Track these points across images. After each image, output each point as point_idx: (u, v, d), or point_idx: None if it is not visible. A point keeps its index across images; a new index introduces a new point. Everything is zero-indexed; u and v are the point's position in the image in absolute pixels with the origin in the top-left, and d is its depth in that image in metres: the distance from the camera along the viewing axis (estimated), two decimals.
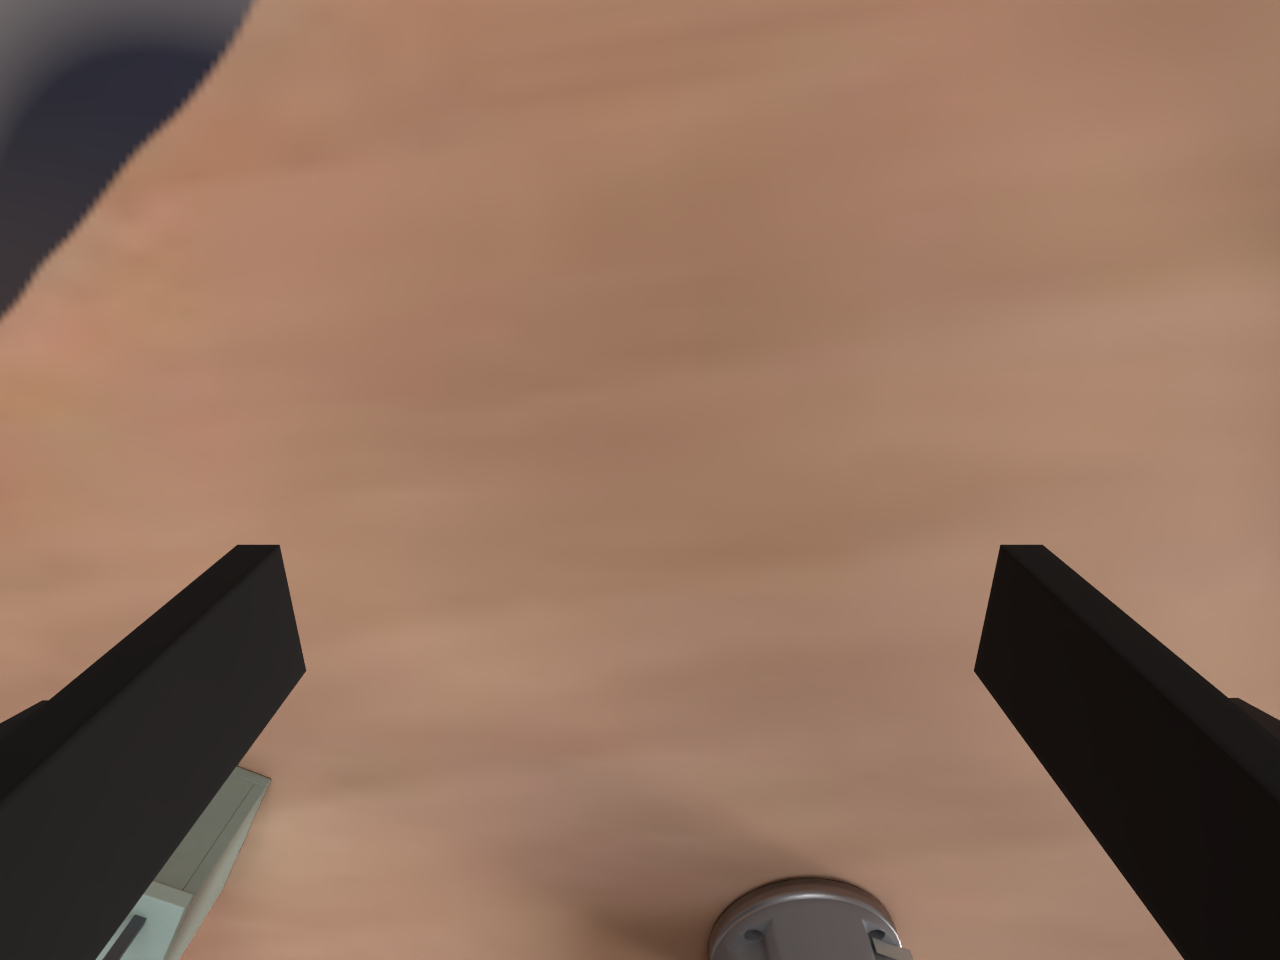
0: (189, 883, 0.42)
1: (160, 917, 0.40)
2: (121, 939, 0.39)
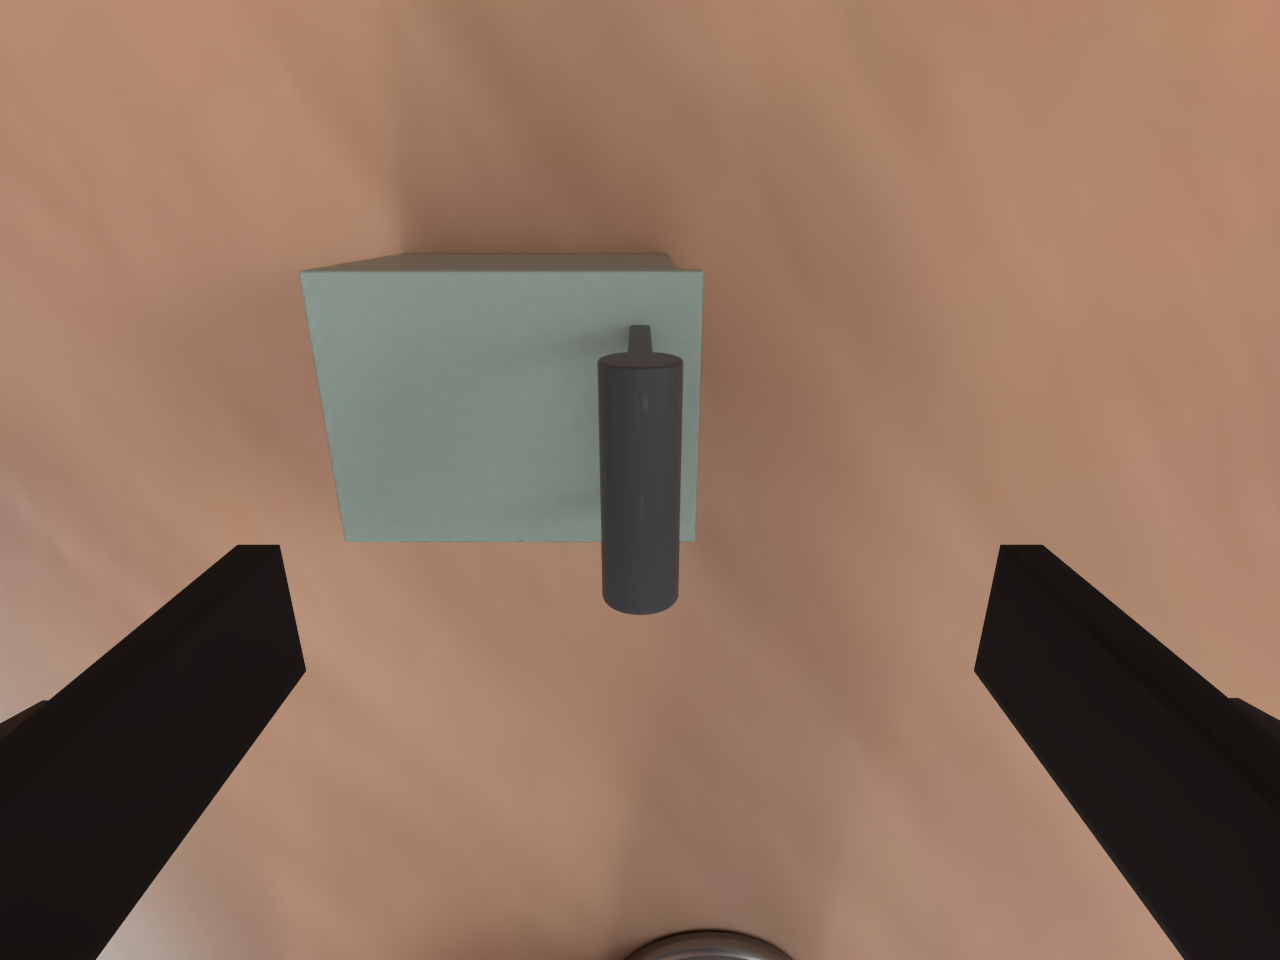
0: None
1: None
2: None
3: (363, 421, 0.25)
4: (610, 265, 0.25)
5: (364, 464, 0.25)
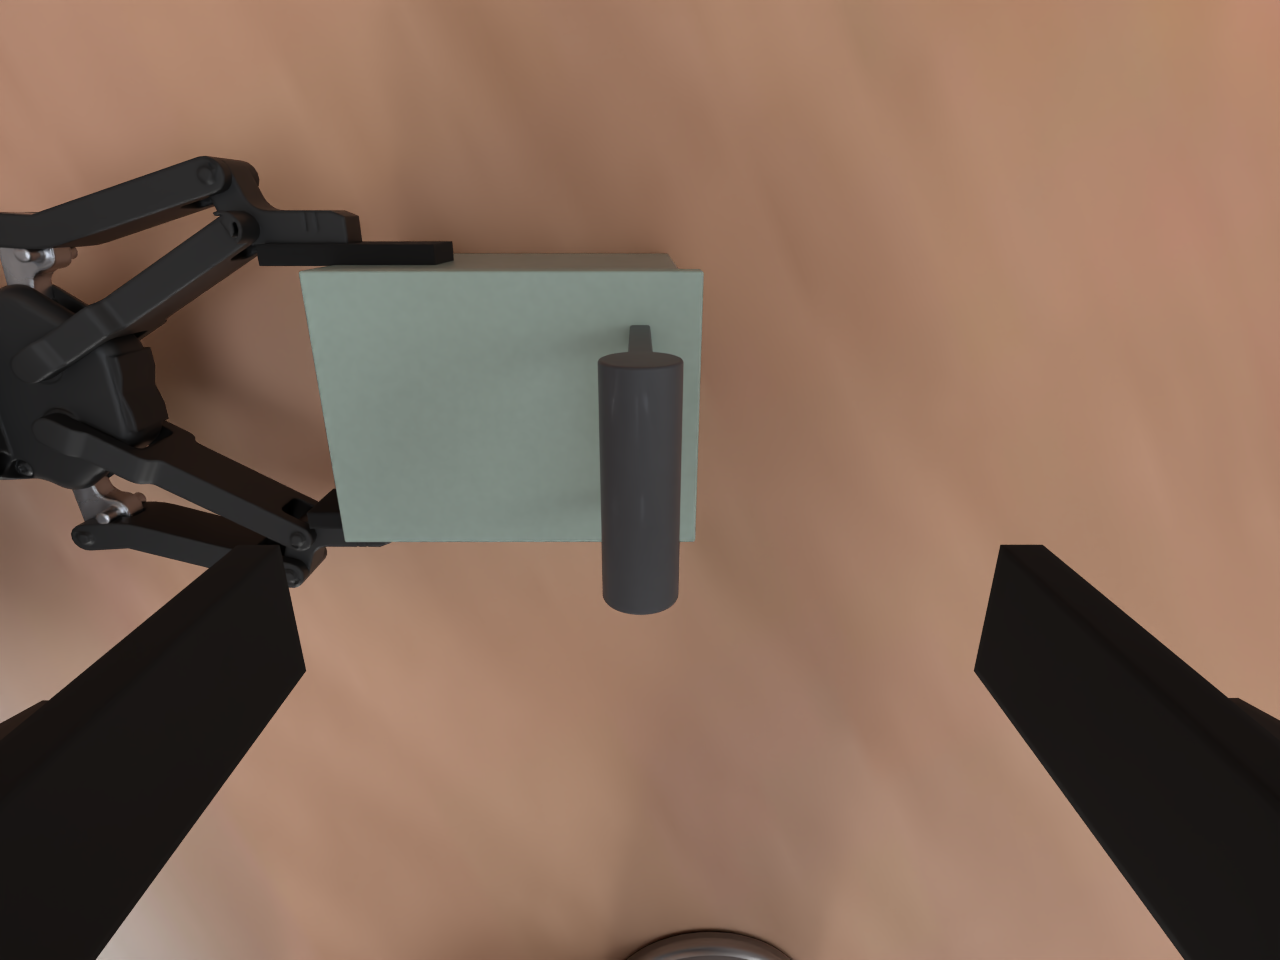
0: None
1: None
2: None
3: (363, 421, 0.25)
4: (610, 265, 0.25)
5: (364, 464, 0.25)
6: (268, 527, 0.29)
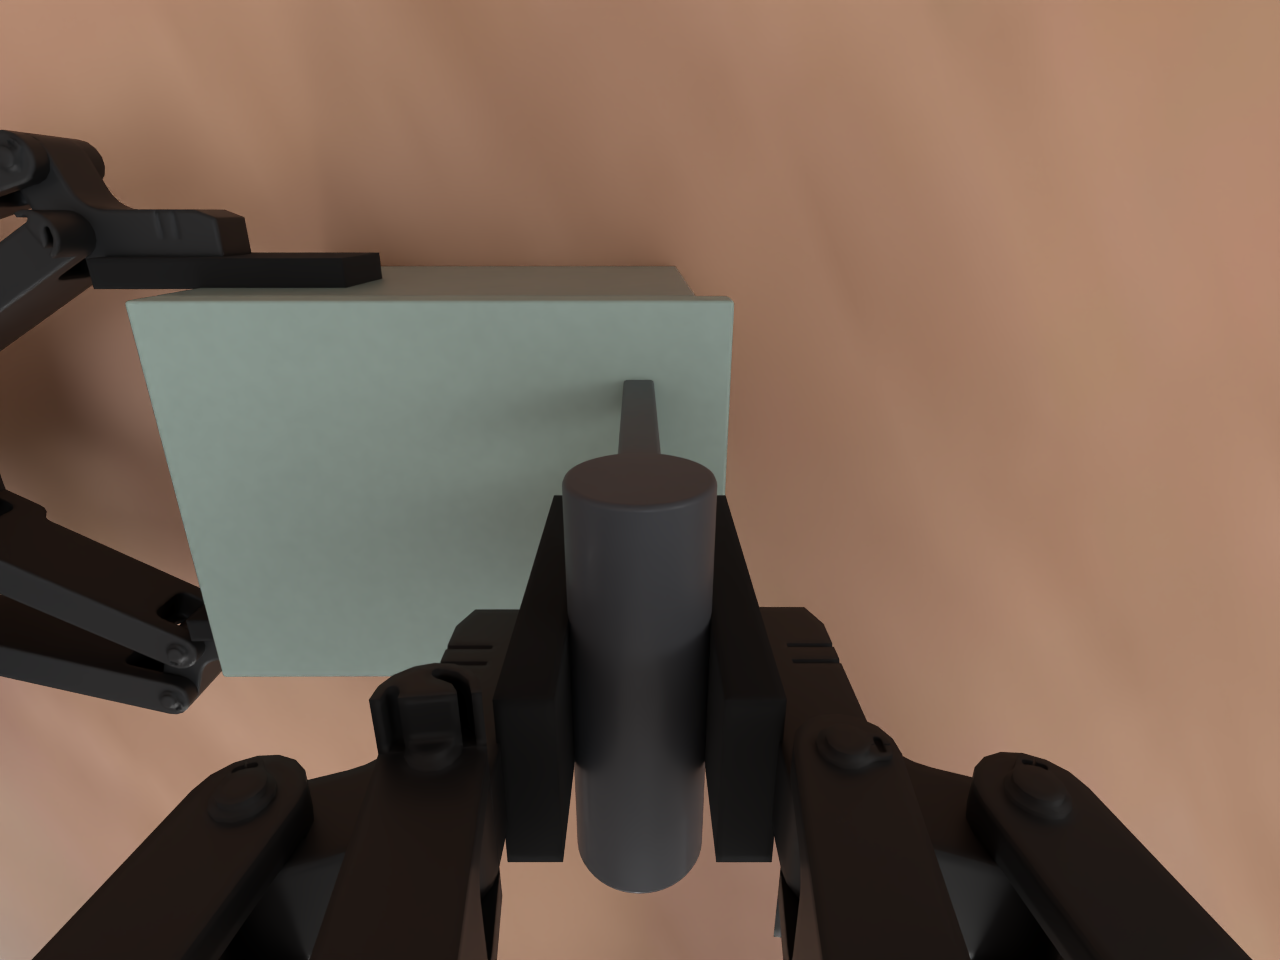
0: None
1: None
2: None
3: (237, 515, 0.17)
4: (596, 288, 0.18)
5: (243, 574, 0.18)
6: (136, 638, 0.22)
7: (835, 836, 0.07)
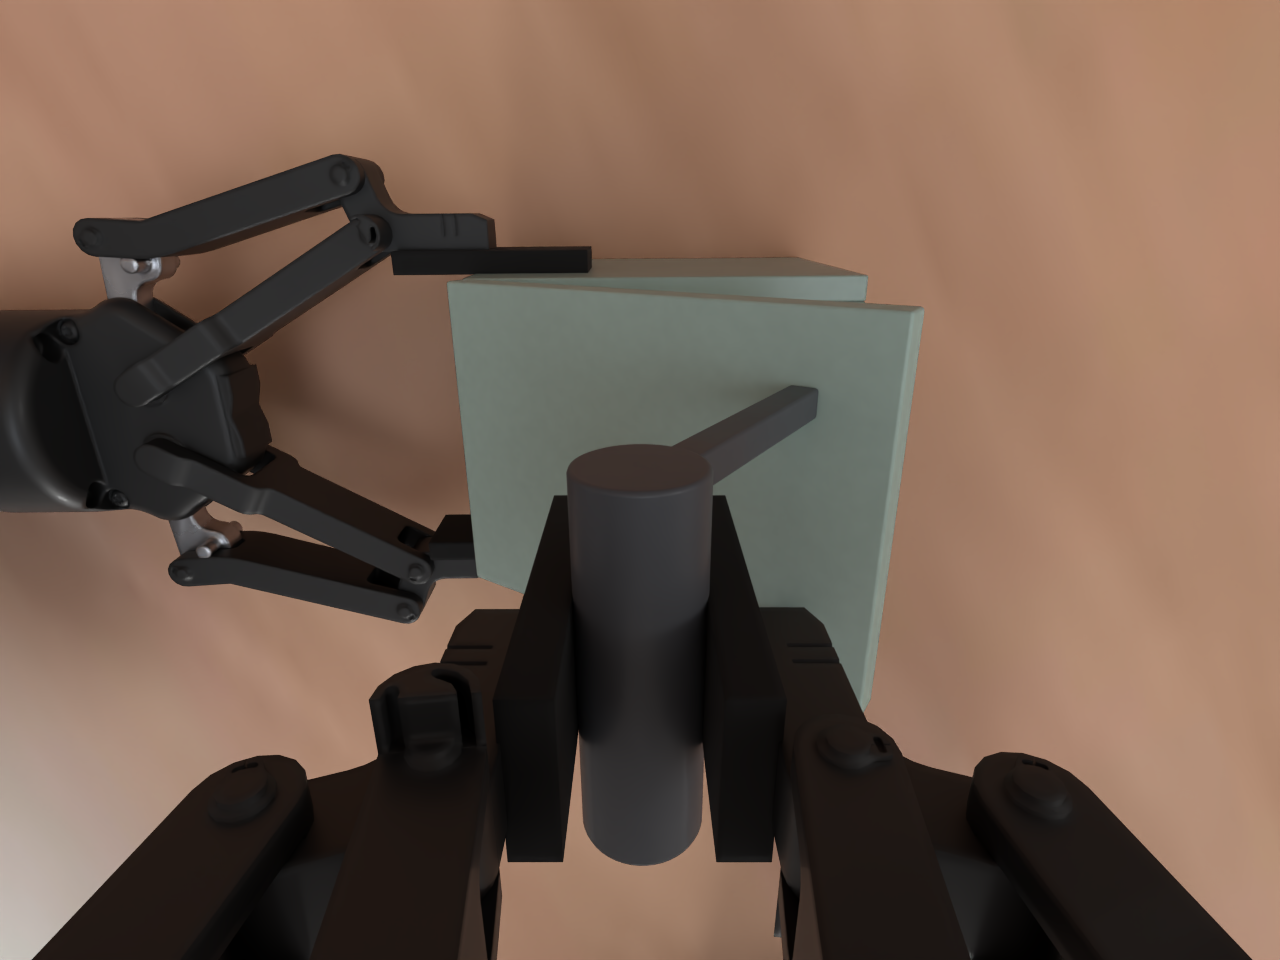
0: None
1: None
2: None
3: (494, 453, 0.22)
4: (780, 271, 0.23)
5: (494, 500, 0.22)
6: (384, 559, 0.27)
7: (835, 836, 0.07)
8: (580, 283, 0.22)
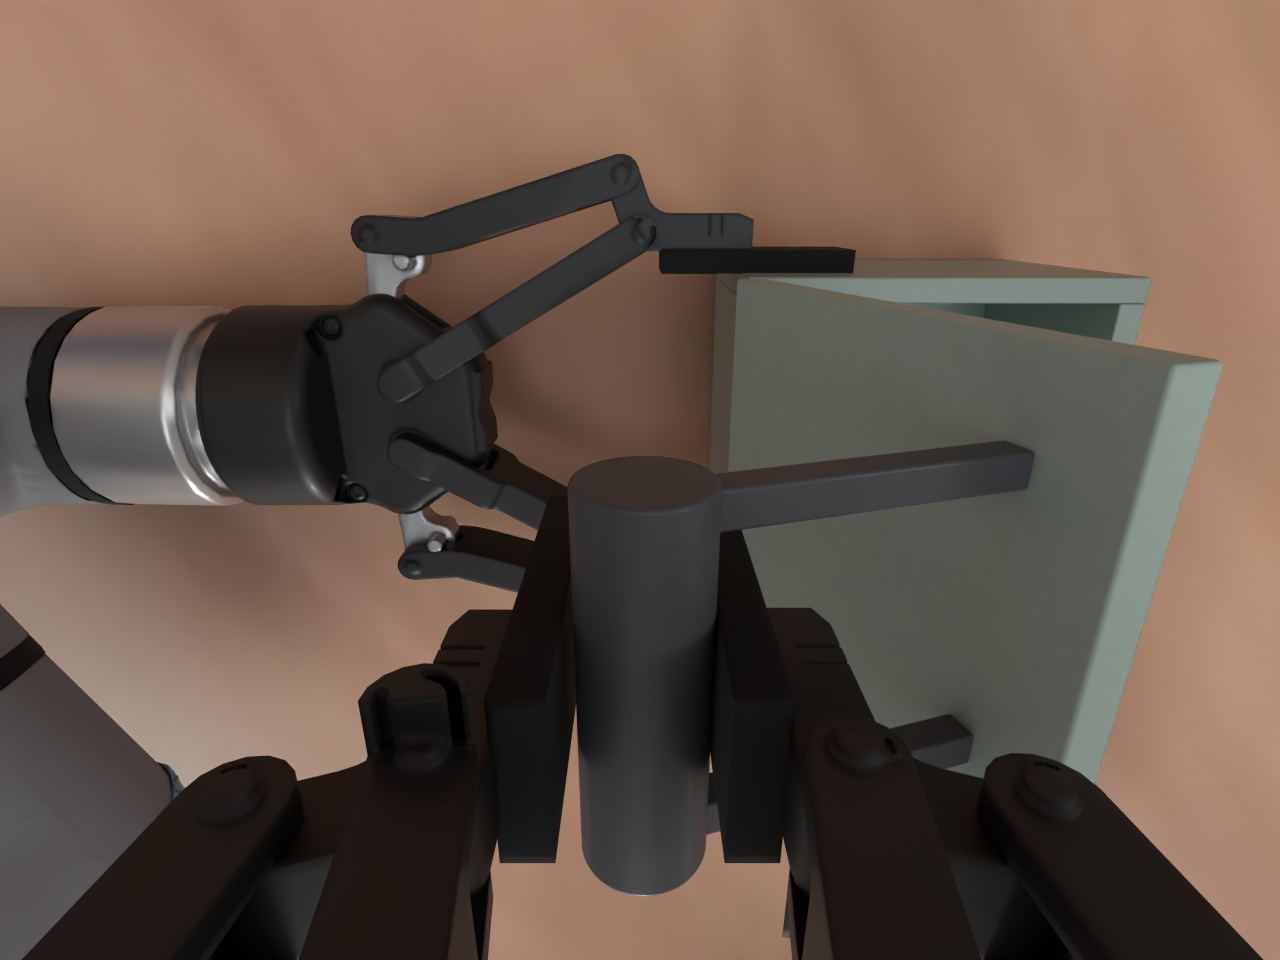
0: None
1: None
2: None
3: (747, 454, 0.22)
4: (1046, 273, 0.23)
5: None
6: None
7: (846, 837, 0.07)
8: (865, 283, 0.22)
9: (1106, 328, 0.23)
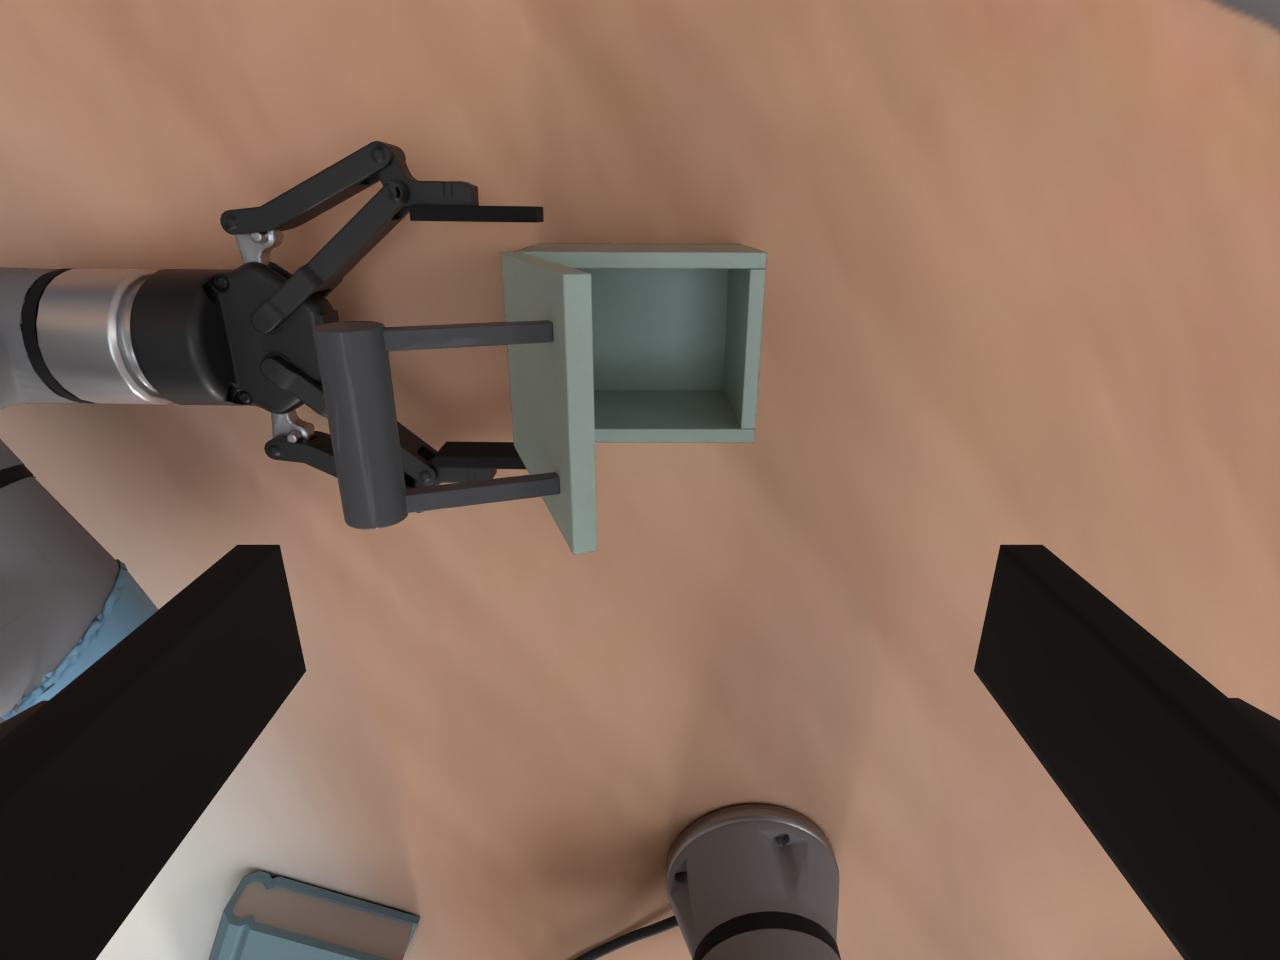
0: None
1: (563, 515, 0.26)
2: (522, 487, 0.26)
3: (512, 362, 0.34)
4: (715, 250, 0.36)
5: (513, 394, 0.35)
6: (406, 464, 0.41)
7: None
8: (586, 255, 0.34)
9: (747, 285, 0.35)
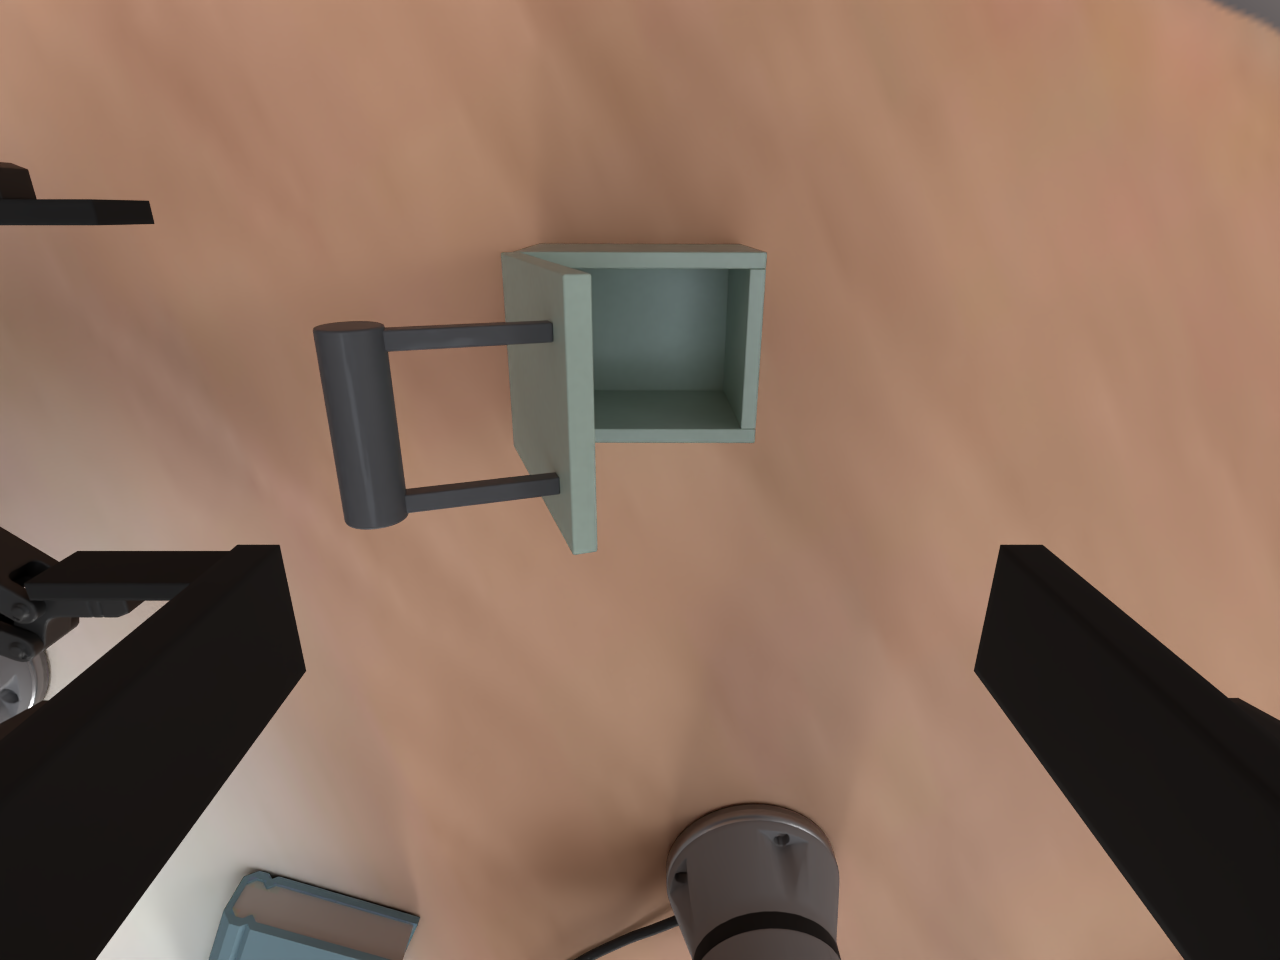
0: None
1: (563, 515, 0.26)
2: (522, 487, 0.26)
3: (512, 363, 0.34)
4: (715, 250, 0.36)
5: (513, 394, 0.35)
6: None
7: None
8: (586, 255, 0.34)
9: (747, 285, 0.35)
